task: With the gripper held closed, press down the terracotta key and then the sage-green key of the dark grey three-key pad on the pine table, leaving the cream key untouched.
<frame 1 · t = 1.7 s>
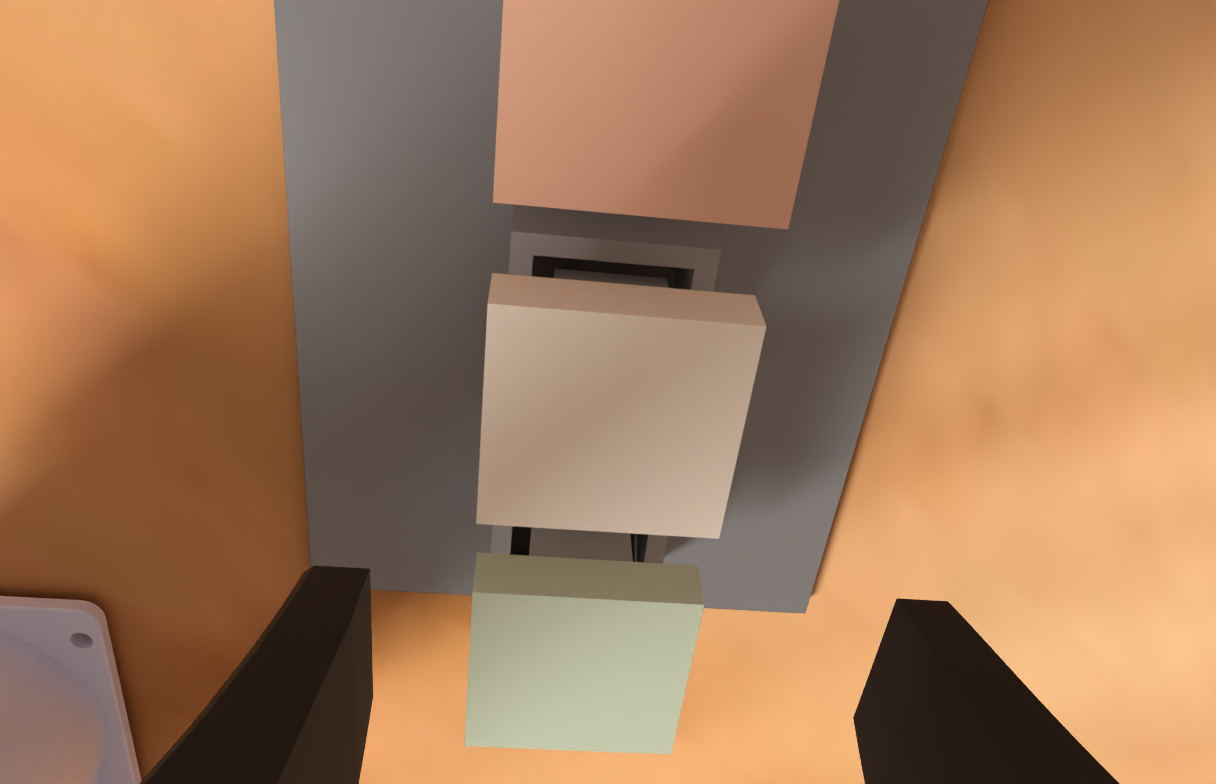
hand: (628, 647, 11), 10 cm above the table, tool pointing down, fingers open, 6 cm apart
key cream: (608, 372, 16), point 4 cm above the table, slide at 0.0 cm
key sage: (577, 609, 19), point 4 cm above the table, slide at 0.0 cm
keypad base: (601, 275, 20), on the table
key terracotta: (652, 32, 14), point 4 cm above the table, slide at 0.0 cm
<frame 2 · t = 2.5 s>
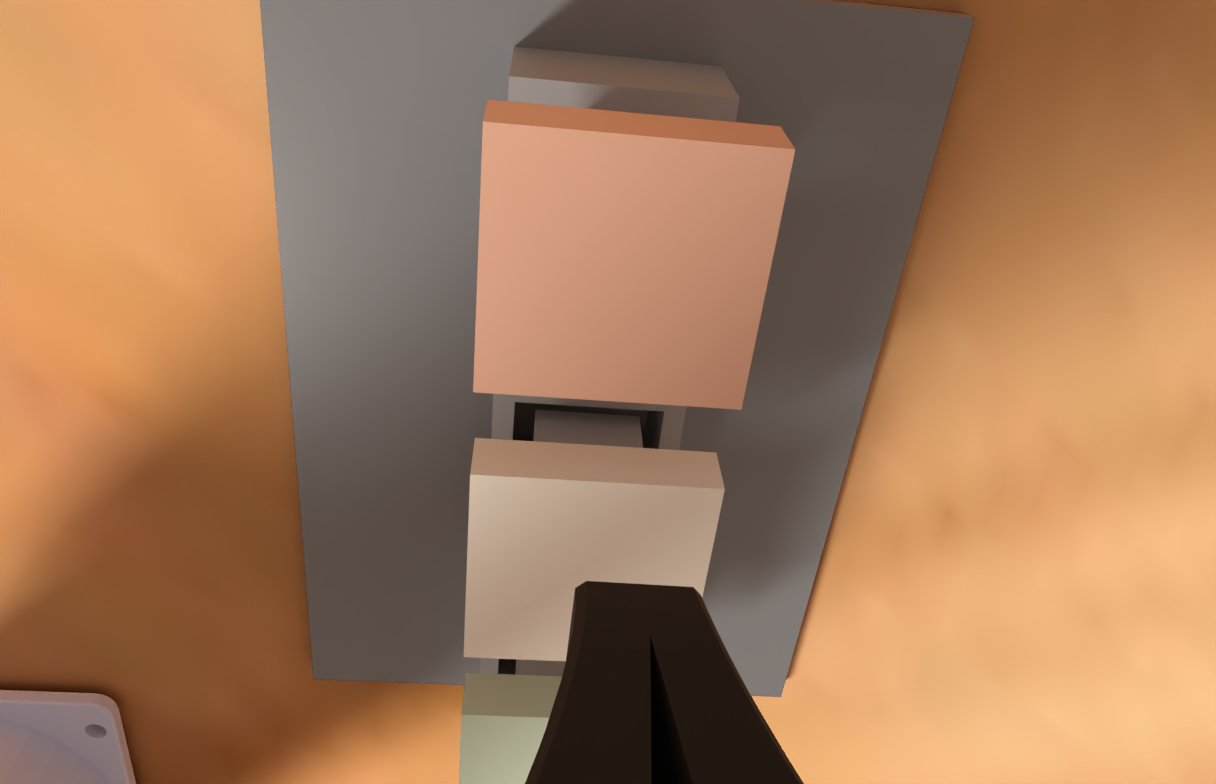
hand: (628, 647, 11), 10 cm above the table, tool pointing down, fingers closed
key cream: (584, 511, 18), point 4 cm above the table, slide at 0.0 cm
key sage: (561, 714, 21), point 4 cm above the table, slide at 0.0 cm
keypad base: (581, 401, 21), on the table
key terracotta: (617, 229, 15), point 4 cm above the table, slide at 0.0 cm
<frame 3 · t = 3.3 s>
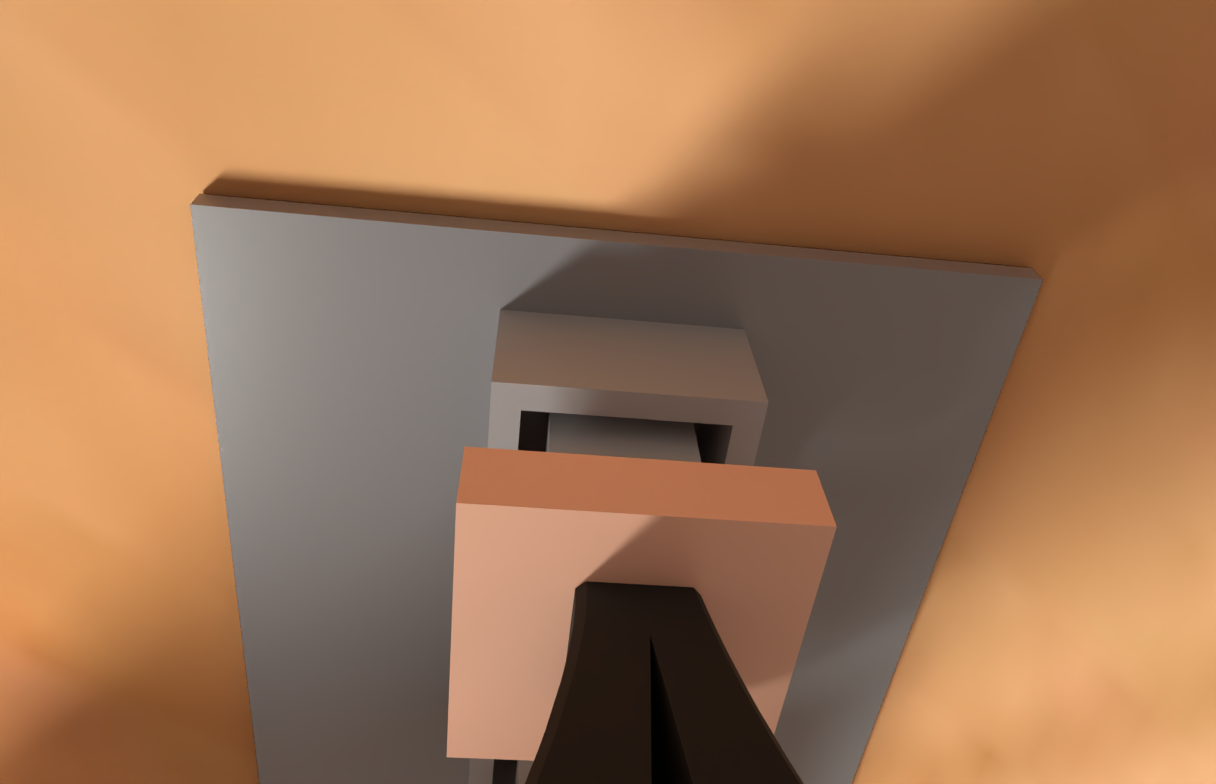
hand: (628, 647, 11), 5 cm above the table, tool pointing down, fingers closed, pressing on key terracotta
keypad base: (576, 651, 18), on the table
key terracotta: (619, 549, 13), point 3 cm above the table, slide at 0.4 cm, touching gripper
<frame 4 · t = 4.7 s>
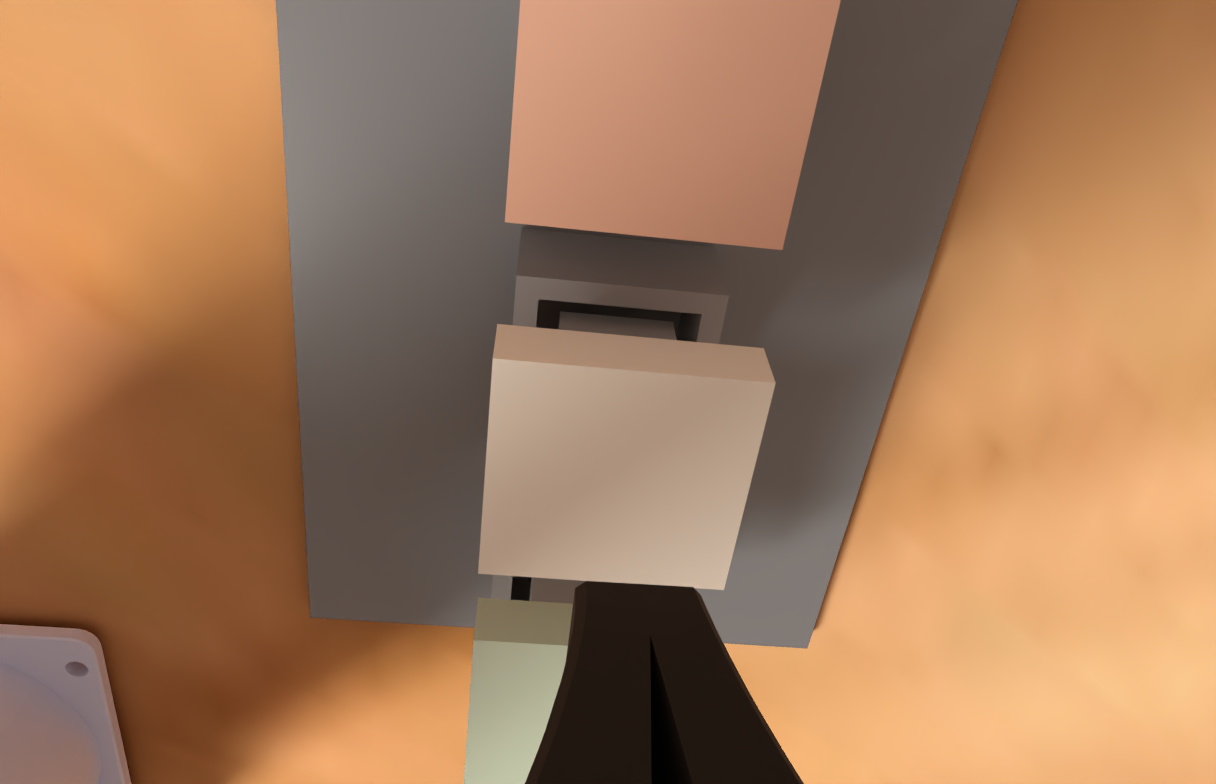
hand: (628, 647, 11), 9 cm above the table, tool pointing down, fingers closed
key cream: (613, 419, 16), point 4 cm above the table, slide at 0.0 cm
key sage: (578, 651, 19), point 4 cm above the table, slide at 0.0 cm
keypad base: (606, 313, 19), on the table
key terracotta: (656, 62, 14), point 3 cm above the table, slide at 1.2 cm
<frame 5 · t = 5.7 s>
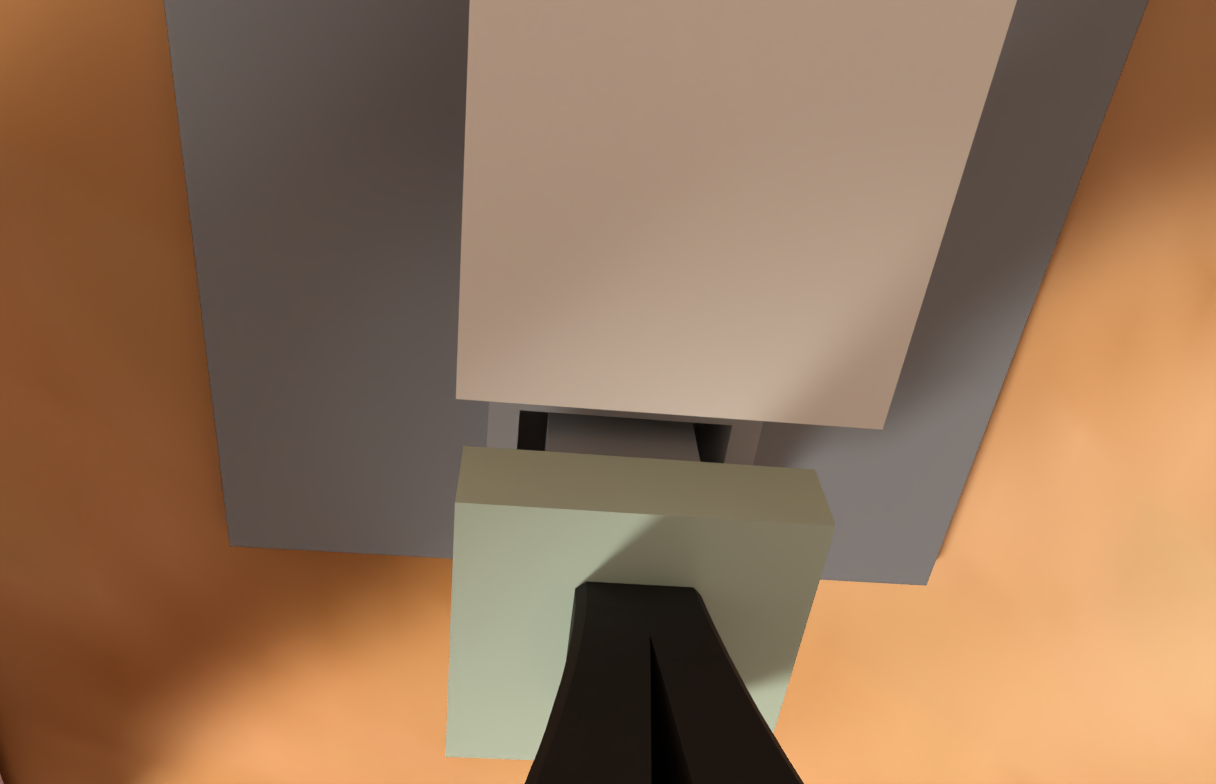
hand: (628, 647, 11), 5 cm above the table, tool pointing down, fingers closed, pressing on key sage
key cream: (686, 143, 9), point 4 cm above the table, slide at 0.0 cm
key sage: (618, 548, 13), point 3 cm above the table, slide at 0.4 cm, touching gripper
keypad base: (655, 52, 13), on the table
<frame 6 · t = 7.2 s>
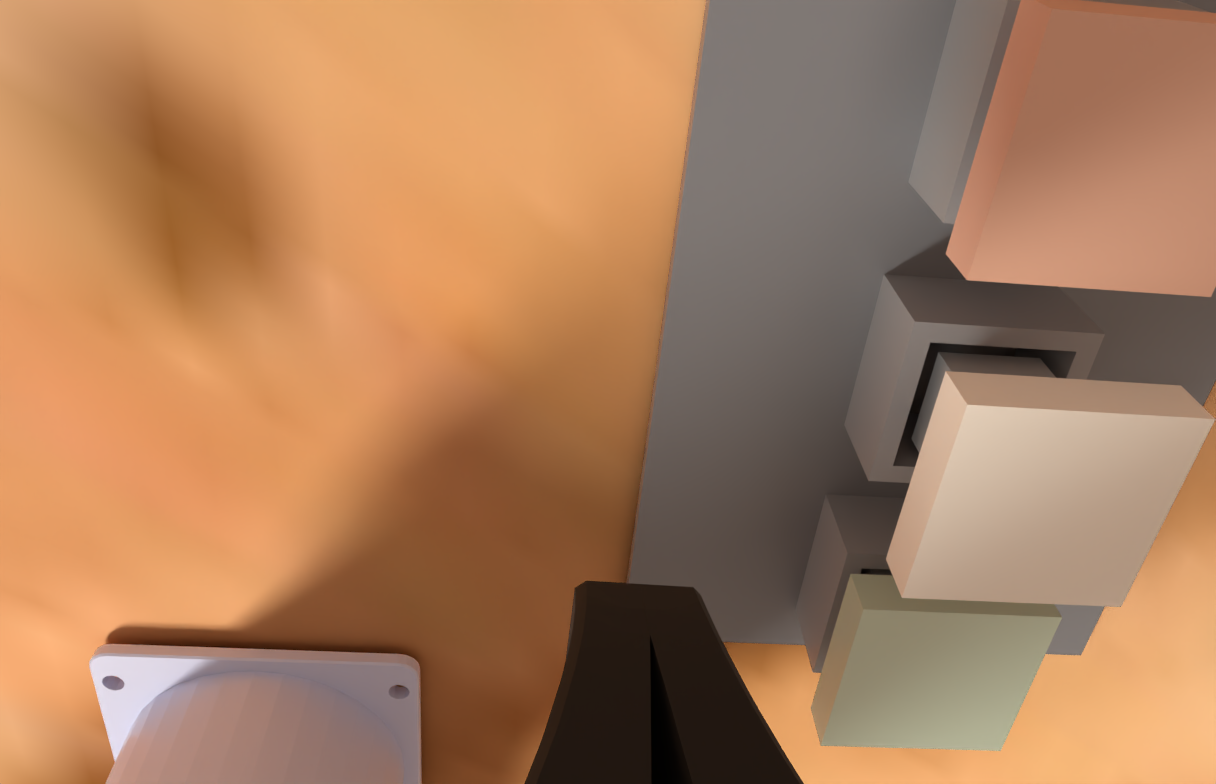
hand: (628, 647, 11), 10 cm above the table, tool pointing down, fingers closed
key cream: (1008, 451, 18), point 4 cm above the table, slide at 0.0 cm
key sage: (910, 622, 22), point 3 cm above the table, slide at 1.2 cm
keypad base: (940, 348, 21), on the table
key terracotta: (1084, 128, 16), point 3 cm above the table, slide at 1.2 cm
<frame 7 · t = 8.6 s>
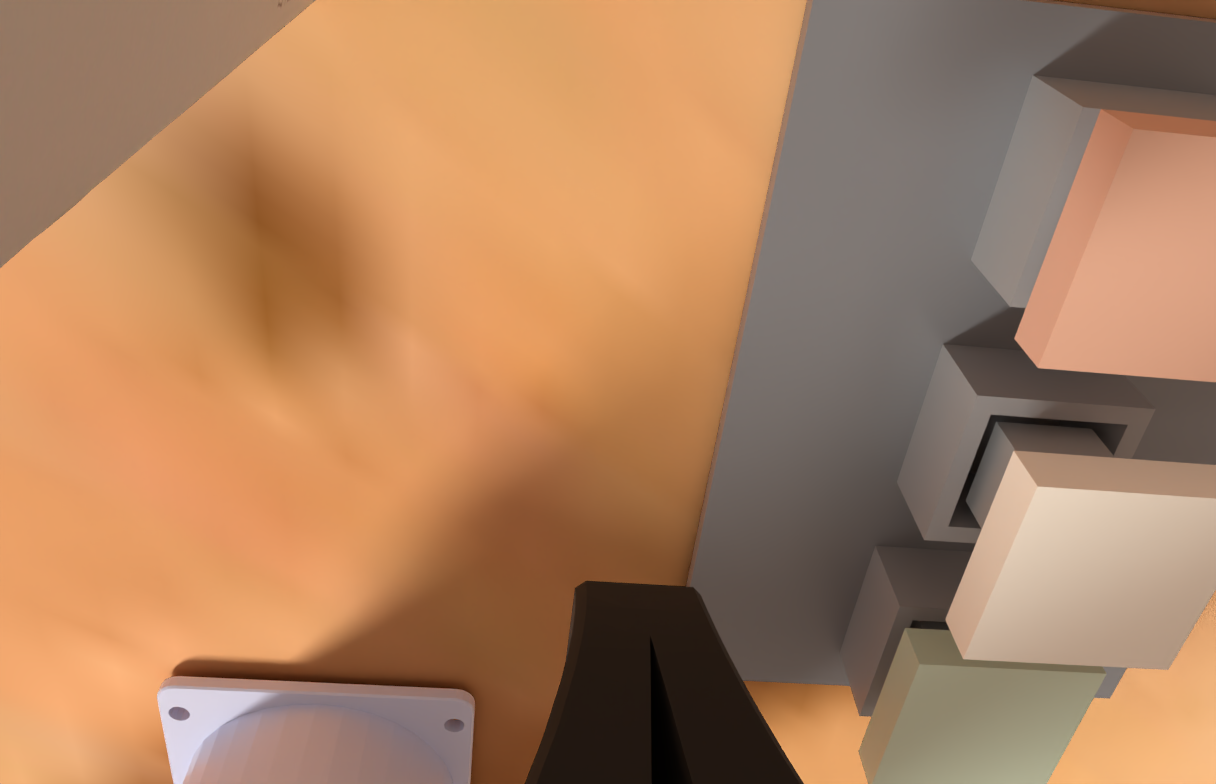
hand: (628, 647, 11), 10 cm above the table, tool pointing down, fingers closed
key cream: (1064, 520, 19), point 4 cm above the table, slide at 0.0 cm
key sage: (955, 670, 22), point 3 cm above the table, slide at 1.2 cm
keypad base: (991, 411, 22), on the table
key terracotta: (1147, 224, 17), point 3 cm above the table, slide at 1.2 cm
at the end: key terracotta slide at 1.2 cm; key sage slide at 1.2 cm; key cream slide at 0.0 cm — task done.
